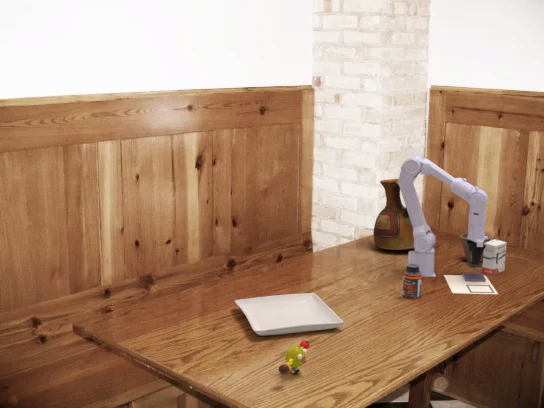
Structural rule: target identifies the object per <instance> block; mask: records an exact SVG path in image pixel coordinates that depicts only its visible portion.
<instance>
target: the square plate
mask: <svg viewBox="0 0 544 408" xmlns="http://www.w3.org/2000/svg"><path fill="white" fill-rule="evenodd" d="M234 303H235V304H236V305H237V306H238V308H239V309H240V310H241V313H243V315H245V317H246V319H247V321H248V323H249V324H250V327H251V329H252V330H253V332H254V333H255V334H257V335H258V336H279V335H287V334H288V335H289V334H296V333H307V332H316V331H323V330H332V329H336V328H338V327H340V326H342V325H343V324H344V320H343V319H341V317H339V315H337V314H336V313H335V311H333V309H332V308H330V307H329V306H328V304H326V302H324V300H322V298H320V297H319V295H317V294H316V293H315V292H306V293H305V292H304V293H303V292H302V293H289V294H288V293H287V294H279V295H278V294H277V295H269V296H268V295H267V296H258V297H257V296H256V297H251V298H242V299H241V298H240V299H235V300H234Z"/></svg>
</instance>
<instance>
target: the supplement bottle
mask: <svg viewBox="0 0 544 408" xmlns="http://www.w3.org/2000/svg"><path fill="white" fill-rule="evenodd" d="M402 278H403V279H402V282H403V283H402V297H403V298H405V299H408V300H418V299H420V298H421V297H422V296H421V295H422V278H423V276H422V273H421V272H420V271H419V265H417V264H408V263H407V264H406V270H405V271H404V272H403V277H402Z"/></svg>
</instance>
